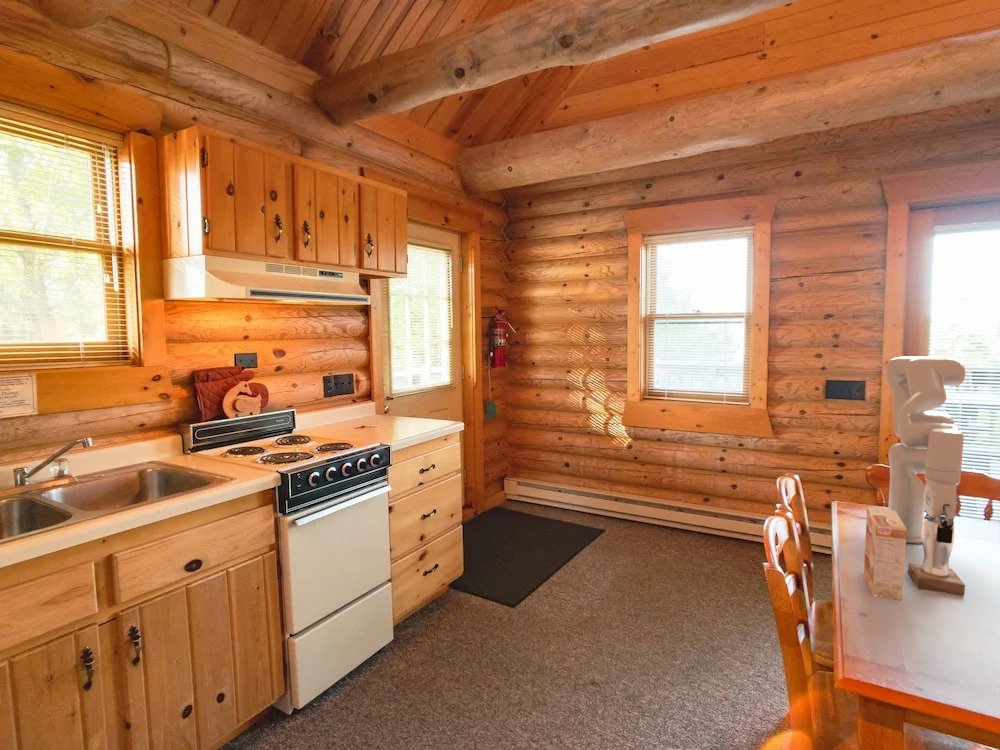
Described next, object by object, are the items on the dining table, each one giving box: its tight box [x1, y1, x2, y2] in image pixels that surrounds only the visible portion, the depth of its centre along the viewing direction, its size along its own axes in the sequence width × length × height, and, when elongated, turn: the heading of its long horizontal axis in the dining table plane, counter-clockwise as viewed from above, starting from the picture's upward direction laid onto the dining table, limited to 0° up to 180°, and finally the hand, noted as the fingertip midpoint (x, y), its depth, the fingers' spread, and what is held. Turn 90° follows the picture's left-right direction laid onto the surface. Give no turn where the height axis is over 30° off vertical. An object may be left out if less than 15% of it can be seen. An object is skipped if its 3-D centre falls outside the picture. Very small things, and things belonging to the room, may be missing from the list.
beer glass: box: [921, 515, 955, 577], centre depth 152 cm, size 7×7×15 cm
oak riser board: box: [907, 562, 966, 597], centre depth 153 cm, size 10×10×3 cm
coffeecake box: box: [863, 507, 907, 601], centre depth 151 cm, size 15×7×20 cm, turn 154°
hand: (937, 535), depth 152 cm, fingers open, 9 cm apart
